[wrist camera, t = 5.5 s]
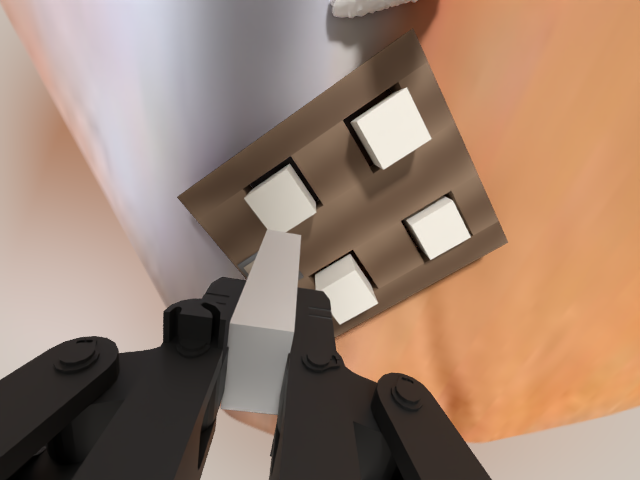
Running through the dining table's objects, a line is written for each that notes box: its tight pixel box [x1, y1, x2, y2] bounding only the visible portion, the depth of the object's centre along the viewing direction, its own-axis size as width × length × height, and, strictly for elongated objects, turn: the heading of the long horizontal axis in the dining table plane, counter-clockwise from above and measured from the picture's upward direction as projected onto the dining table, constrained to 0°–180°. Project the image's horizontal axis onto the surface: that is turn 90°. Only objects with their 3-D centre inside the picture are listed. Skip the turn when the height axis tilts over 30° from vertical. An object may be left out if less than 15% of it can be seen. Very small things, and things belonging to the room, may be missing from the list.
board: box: [177, 28, 508, 337], centre depth 28 cm, size 20×22×4 cm
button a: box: [244, 164, 317, 232], centre depth 25 cm, size 4×4×4 cm
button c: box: [350, 87, 431, 170], centre depth 23 cm, size 4×4×4 cm
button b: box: [315, 254, 378, 324], centre depth 28 cm, size 4×4×4 cm
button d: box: [403, 196, 471, 260], centre depth 28 cm, size 4×4×4 cm
